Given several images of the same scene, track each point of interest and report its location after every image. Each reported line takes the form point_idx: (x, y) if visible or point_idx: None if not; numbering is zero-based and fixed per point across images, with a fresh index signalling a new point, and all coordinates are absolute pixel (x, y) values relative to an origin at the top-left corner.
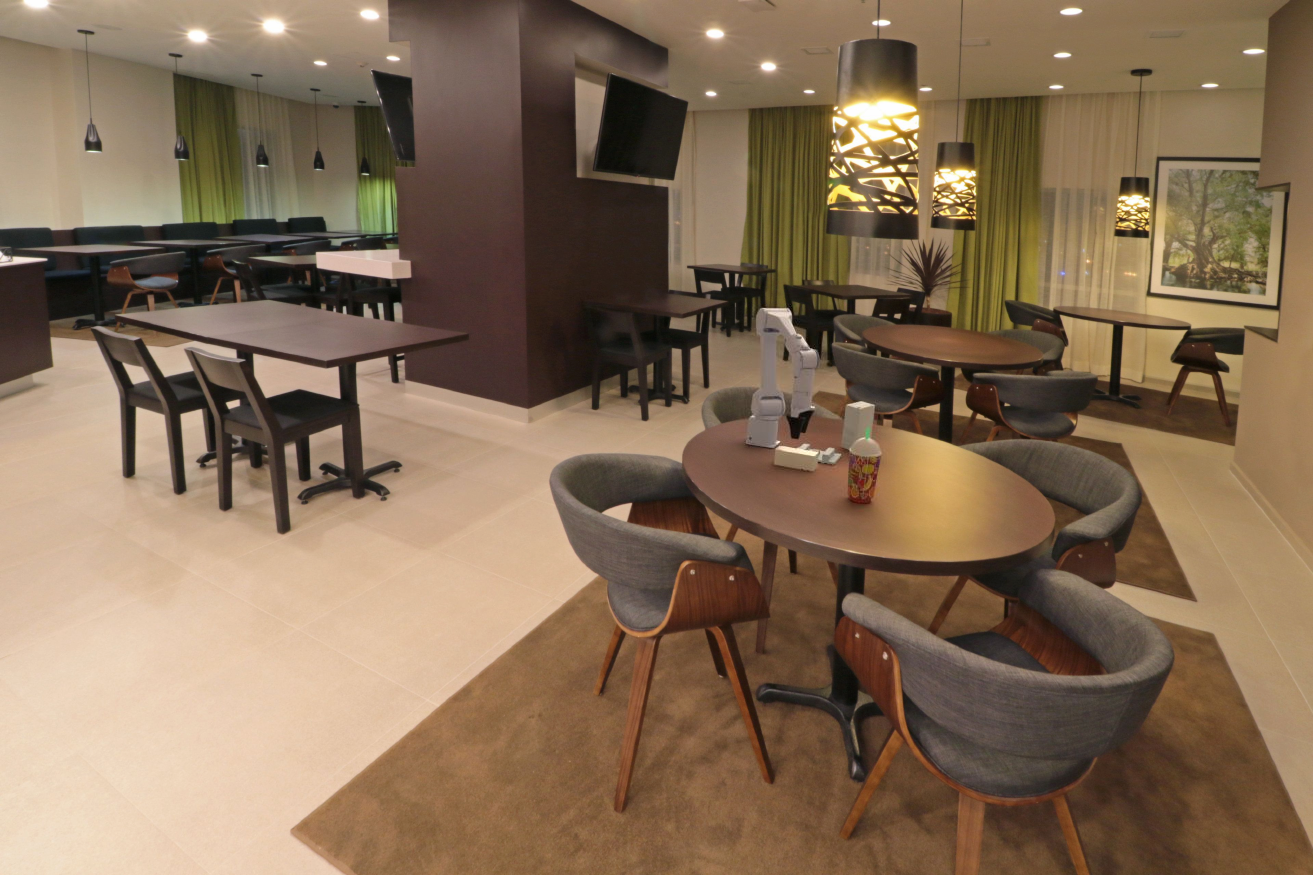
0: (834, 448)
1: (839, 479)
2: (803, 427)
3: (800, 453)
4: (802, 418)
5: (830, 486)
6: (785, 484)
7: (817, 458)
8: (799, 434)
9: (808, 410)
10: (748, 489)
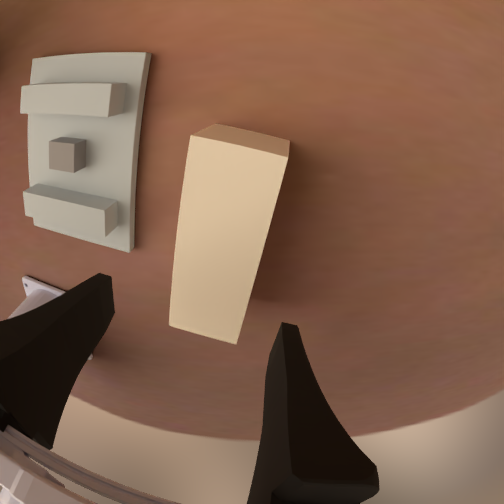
0: (22, 88)
1: (369, 23)
2: (91, 313)
3: (260, 240)
4: (364, 494)
5: (471, 83)
6: (470, 257)
7: (214, 132)
8: (304, 351)
9: (2, 406)
10: (492, 342)
